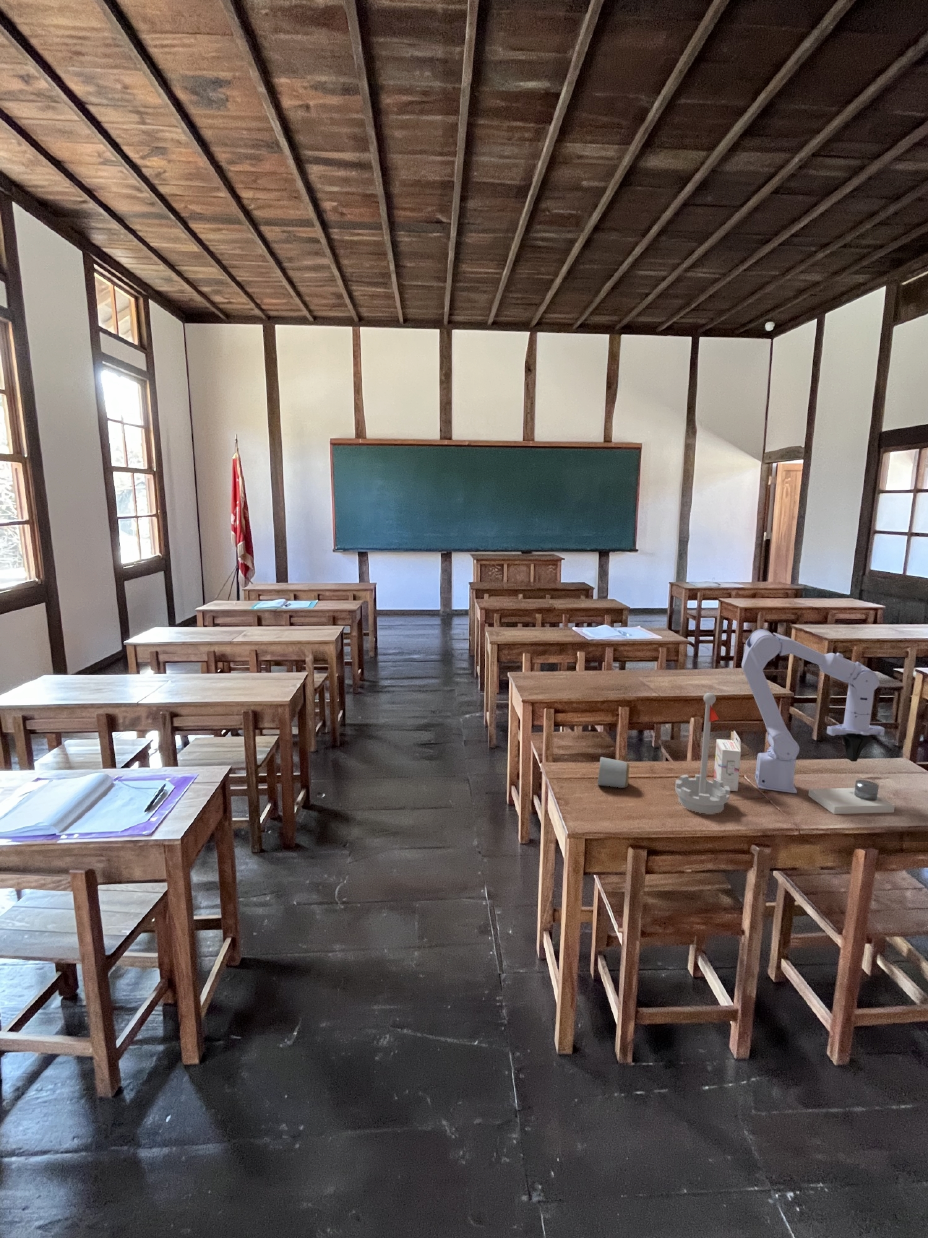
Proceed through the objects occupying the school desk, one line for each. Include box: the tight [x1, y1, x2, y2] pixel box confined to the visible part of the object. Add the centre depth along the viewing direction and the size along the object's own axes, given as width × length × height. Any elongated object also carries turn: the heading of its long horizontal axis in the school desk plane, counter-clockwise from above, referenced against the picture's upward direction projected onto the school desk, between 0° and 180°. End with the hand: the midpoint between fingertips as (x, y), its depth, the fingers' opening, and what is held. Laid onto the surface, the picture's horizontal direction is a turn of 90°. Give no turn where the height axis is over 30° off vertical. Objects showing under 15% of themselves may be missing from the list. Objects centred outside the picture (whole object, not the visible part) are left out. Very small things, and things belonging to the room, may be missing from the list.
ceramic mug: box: [597, 756, 630, 789], centre depth 165 cm, size 11×8×8 cm
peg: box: [854, 779, 880, 801], centre depth 155 cm, size 5×5×5 cm
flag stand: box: [674, 692, 730, 815], centre depth 152 cm, size 13×13×30 cm
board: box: [807, 787, 896, 815], centre depth 155 cm, size 16×10×2 cm, turn 94°
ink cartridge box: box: [713, 730, 742, 792], centre depth 165 cm, size 9×5×15 cm, turn 168°
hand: (851, 760), depth 159 cm, fingers closed
